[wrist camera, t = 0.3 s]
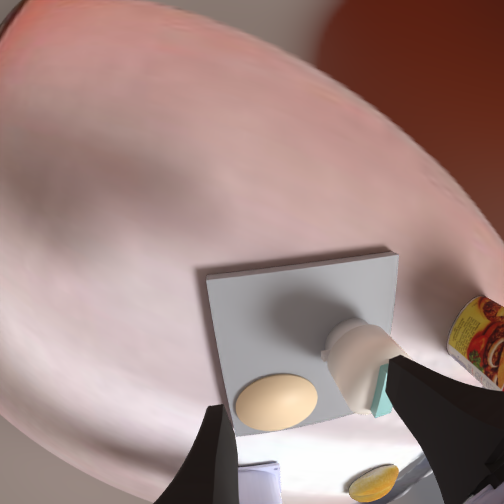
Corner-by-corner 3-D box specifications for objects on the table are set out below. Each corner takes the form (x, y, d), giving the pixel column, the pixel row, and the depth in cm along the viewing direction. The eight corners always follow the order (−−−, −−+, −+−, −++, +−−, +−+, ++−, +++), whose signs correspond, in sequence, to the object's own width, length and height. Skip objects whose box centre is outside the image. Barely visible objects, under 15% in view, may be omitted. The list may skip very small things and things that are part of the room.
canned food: (496, 306, 24) (562, 348, 13) (464, 361, 26) (522, 414, 14) (473, 285, 22) (555, 333, 11) (436, 350, 24) (504, 415, 12)
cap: (382, 371, 20) (411, 408, 15) (325, 386, 19) (347, 431, 15) (392, 317, 18) (429, 352, 14) (328, 332, 18) (357, 375, 13)
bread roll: (398, 456, 30) (408, 473, 26) (388, 478, 32) (397, 494, 28) (349, 476, 29) (357, 495, 26) (345, 496, 32) (352, 512, 28)
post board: (371, 400, 24) (383, 419, 22) (235, 429, 23) (237, 452, 20) (391, 251, 20) (413, 262, 17) (206, 275, 19) (204, 292, 16)
